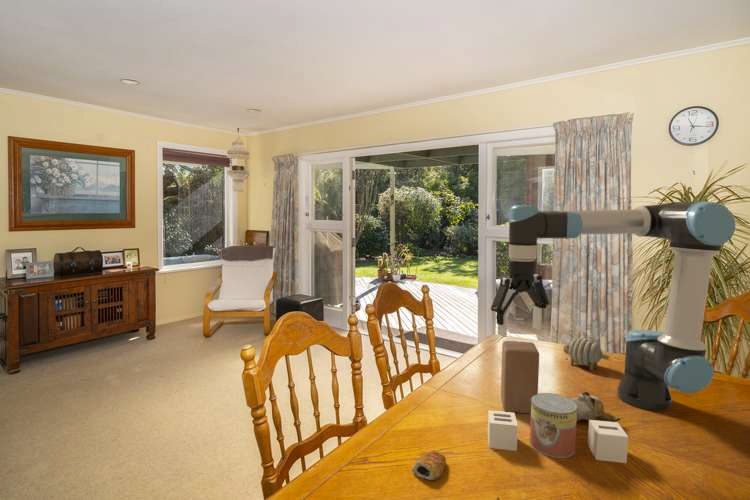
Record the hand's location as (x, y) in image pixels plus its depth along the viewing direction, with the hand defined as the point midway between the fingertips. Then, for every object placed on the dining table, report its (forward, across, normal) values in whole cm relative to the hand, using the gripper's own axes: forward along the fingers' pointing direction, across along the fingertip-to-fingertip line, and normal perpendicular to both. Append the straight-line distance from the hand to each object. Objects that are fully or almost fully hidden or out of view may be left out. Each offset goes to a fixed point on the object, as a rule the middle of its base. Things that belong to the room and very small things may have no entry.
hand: (519, 332), depth 121 cm
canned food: (+27, +1, +13) cm, 31 cm away
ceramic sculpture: (+28, -20, +8) cm, 35 cm away
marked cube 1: (+27, +12, +6) cm, 30 cm away
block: (+27, -7, -7) cm, 29 cm away
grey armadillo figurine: (+28, -56, -20) cm, 65 cm away
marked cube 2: (+27, -9, +22) cm, 36 cm away
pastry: (+28, +36, +7) cm, 46 cm away
